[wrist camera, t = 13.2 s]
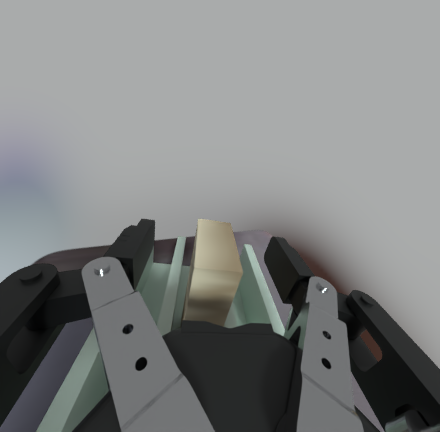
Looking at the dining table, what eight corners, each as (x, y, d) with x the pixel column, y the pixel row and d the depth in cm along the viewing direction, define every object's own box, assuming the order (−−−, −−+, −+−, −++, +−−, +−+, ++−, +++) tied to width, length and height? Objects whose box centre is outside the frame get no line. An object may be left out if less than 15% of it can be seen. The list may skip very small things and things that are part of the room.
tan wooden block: (173, 377, 14) (194, 267, 8) (181, 316, 18) (198, 218, 13) (204, 377, 14) (243, 272, 9) (204, 317, 18) (230, 223, 13)
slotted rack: (61, 469, 10) (31, 439, 7) (145, 267, 24) (146, 232, 21) (281, 448, 12) (320, 420, 10) (240, 275, 26) (251, 244, 24)
